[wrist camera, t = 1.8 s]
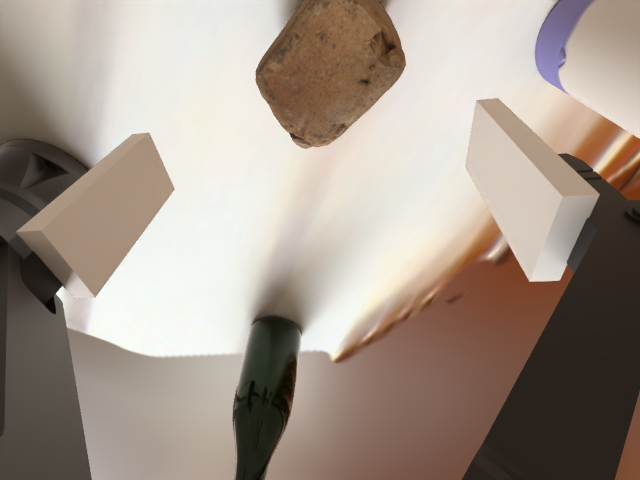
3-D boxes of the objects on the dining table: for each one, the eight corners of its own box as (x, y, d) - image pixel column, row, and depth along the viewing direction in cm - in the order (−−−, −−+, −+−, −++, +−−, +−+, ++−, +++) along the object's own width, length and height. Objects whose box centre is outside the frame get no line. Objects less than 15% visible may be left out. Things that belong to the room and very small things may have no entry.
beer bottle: (252, 343, 73) (203, 549, 48) (248, 312, 66) (189, 533, 41) (301, 347, 73) (278, 556, 48) (302, 317, 66) (276, 541, 41)
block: (343, -49, 31) (342, -53, 16) (393, 21, 34) (432, 73, 19) (267, 44, 36) (212, 109, 21) (316, 97, 40) (299, 186, 24)
